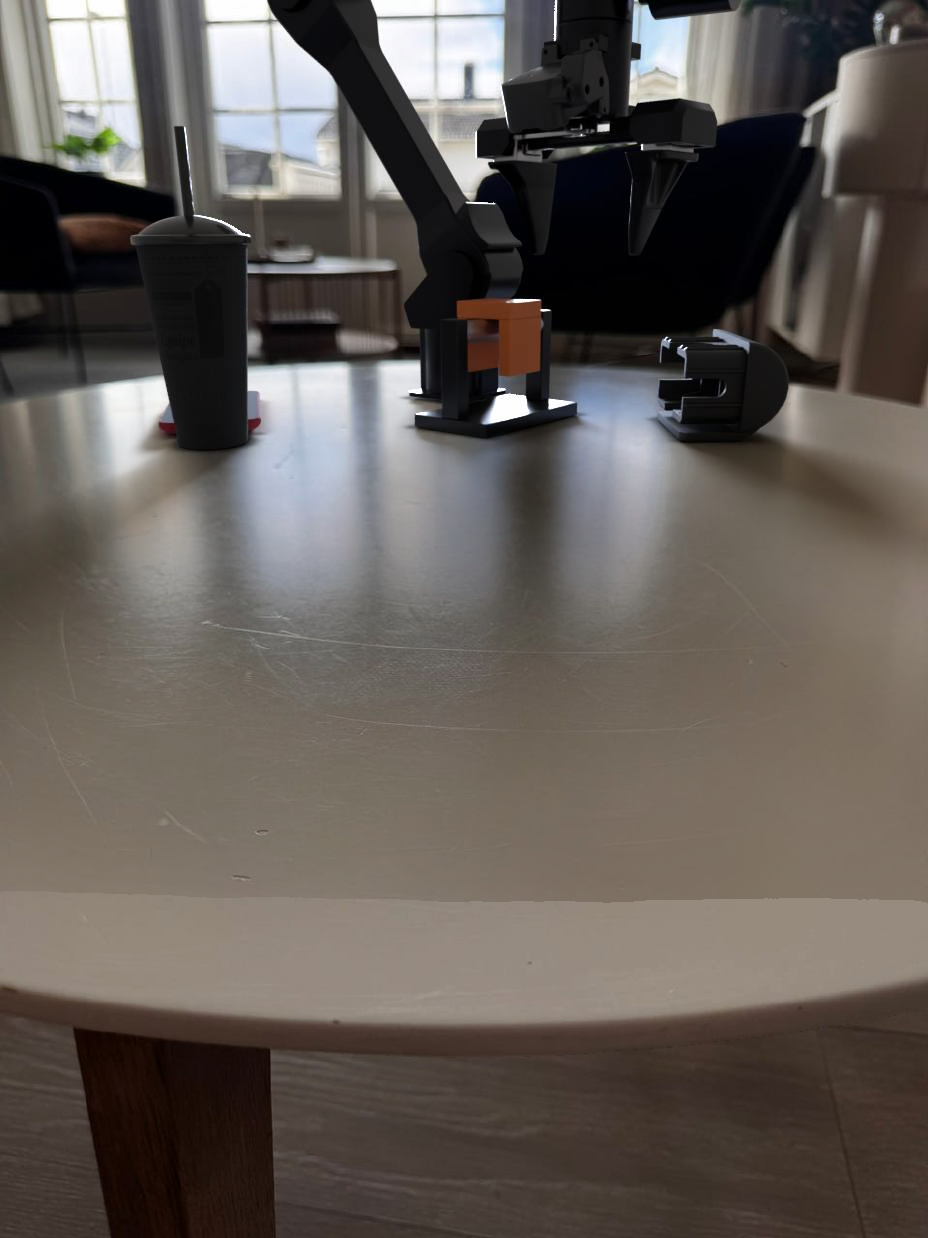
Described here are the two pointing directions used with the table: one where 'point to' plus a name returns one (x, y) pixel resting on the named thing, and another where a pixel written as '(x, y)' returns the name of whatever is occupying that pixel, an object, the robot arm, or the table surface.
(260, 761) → the table surface
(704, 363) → the end cap
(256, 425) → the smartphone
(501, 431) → the rack
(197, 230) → the drinking cup
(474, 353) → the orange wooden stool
